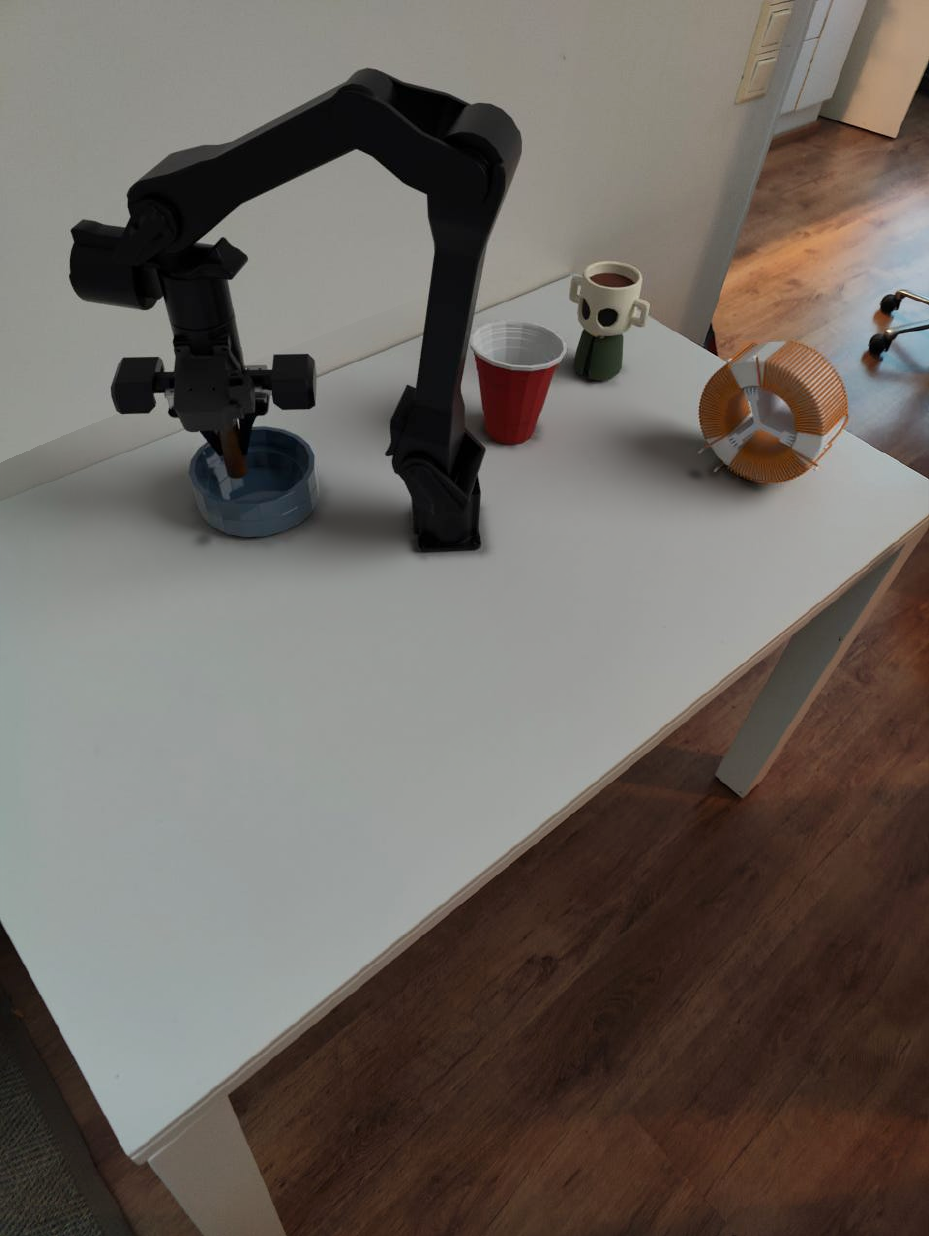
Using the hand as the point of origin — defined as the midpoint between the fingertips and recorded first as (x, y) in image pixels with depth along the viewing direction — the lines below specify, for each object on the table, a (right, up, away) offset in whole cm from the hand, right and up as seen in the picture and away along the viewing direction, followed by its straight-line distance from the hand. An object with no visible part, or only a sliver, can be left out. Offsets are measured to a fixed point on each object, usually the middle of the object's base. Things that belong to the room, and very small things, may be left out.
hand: (233, 453), depth 86 cm
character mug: (+41, +15, +22) cm, 49 cm away
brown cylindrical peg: (0, -2, +2) cm, 2 cm away
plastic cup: (+30, +5, +13) cm, 33 cm away
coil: (+57, 0, +10) cm, 58 cm away
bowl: (+2, -4, +4) cm, 6 cm away
